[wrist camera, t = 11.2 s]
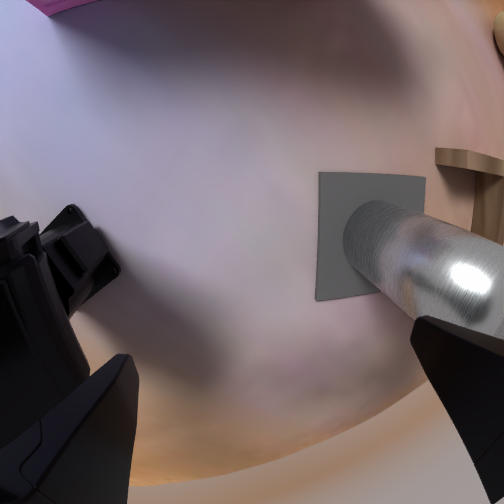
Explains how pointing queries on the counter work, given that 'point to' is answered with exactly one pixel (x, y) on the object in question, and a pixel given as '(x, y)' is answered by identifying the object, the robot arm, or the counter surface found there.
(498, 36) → the apple
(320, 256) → the rubber mat
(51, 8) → the gum box
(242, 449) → the counter surface
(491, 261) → the steel tin
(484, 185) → the walnut rack
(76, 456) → the robot arm
